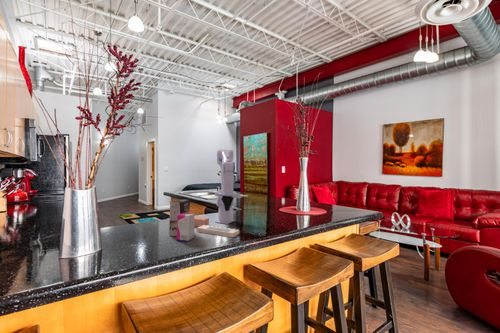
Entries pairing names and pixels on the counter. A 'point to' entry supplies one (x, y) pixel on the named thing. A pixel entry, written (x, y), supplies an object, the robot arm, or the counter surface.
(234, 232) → the ticket board
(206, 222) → the stub tab
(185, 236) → the supplement box
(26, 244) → the counter surface
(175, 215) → the coffee box
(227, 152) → the robot arm
